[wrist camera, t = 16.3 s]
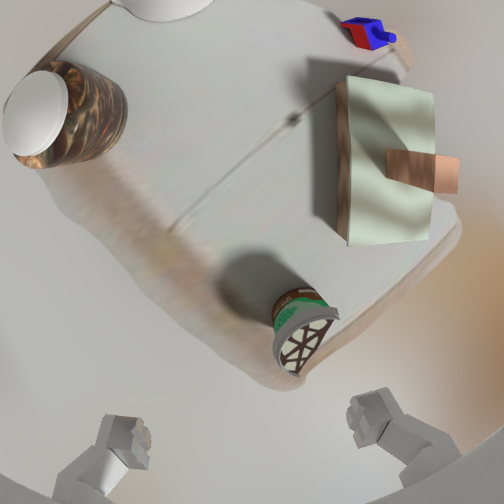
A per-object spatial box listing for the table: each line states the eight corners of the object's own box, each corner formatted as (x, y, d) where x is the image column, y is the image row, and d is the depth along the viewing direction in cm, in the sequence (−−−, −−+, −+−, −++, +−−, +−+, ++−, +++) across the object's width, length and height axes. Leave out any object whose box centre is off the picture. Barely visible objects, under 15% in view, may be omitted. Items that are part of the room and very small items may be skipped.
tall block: (386, 148, 31) (435, 154, 22) (409, 150, 32) (459, 158, 22) (385, 177, 33) (433, 192, 24) (408, 178, 33) (457, 193, 24)
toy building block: (349, 45, 31) (385, 54, 26) (340, 22, 28) (377, 27, 23) (365, 39, 31) (402, 48, 25) (357, 17, 27) (394, 22, 22)
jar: (53, 102, 28) (-12, 94, 14) (119, 66, 28) (68, 33, 14) (70, 172, 33) (5, 192, 19) (138, 140, 33) (88, 140, 19)
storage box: (332, 82, 32) (347, 75, 27) (413, 96, 33) (433, 94, 29) (334, 235, 41) (348, 246, 36) (410, 229, 42) (427, 239, 37)
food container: (284, 269, 42) (302, 304, 33) (318, 281, 43) (342, 316, 34) (252, 331, 46) (260, 374, 36) (284, 339, 47) (297, 380, 38)
